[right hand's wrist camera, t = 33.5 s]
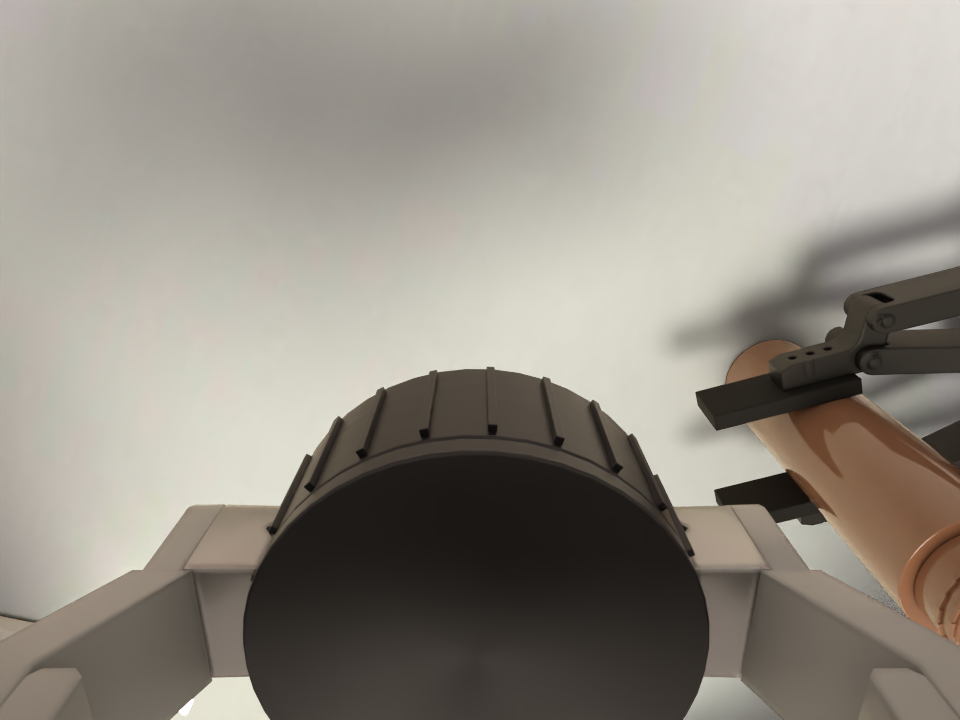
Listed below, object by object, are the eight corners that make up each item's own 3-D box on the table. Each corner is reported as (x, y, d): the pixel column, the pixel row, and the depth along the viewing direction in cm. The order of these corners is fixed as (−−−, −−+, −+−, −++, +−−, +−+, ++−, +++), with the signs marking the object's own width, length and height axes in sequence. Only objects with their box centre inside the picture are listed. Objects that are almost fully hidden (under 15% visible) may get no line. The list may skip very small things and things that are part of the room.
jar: (815, 333, 37) (1127, 548, 19) (812, 414, 39) (1095, 679, 21) (724, 345, 37) (949, 568, 20) (725, 425, 39) (933, 696, 21)
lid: (345, 307, 9) (300, 375, 7) (730, 434, 10) (806, 535, 8) (252, 626, 11) (193, 761, 9) (579, 713, 12) (603, 861, 10)
